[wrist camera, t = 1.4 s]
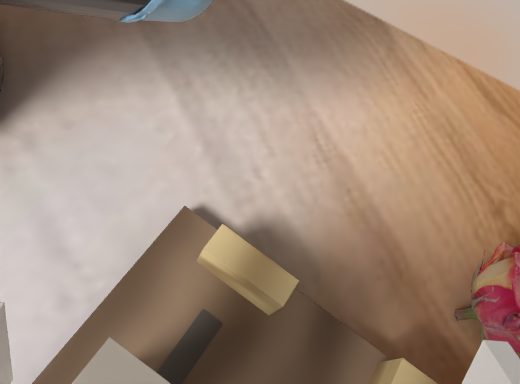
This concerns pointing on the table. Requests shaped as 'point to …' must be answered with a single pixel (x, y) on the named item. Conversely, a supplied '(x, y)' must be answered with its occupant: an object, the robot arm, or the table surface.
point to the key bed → (223, 320)
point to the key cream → (117, 368)
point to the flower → (497, 297)
